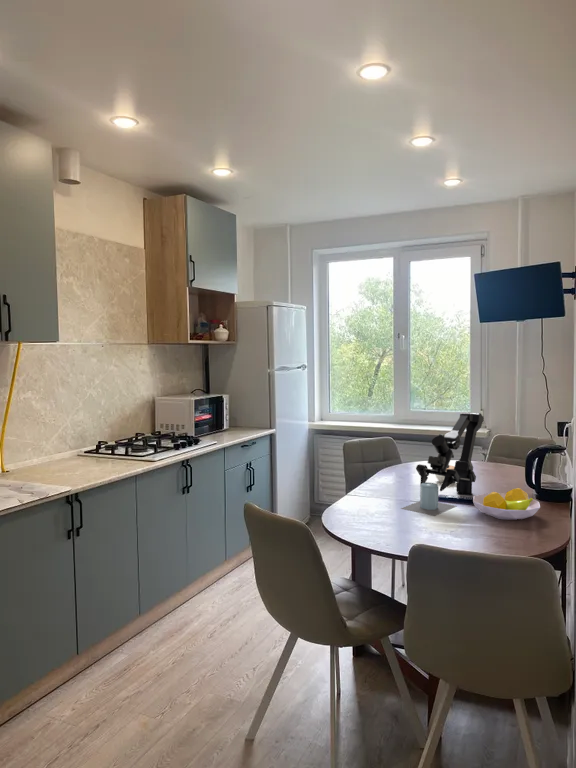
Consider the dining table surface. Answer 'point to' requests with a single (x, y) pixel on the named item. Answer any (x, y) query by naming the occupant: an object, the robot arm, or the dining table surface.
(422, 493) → the dome-topped octagonal prism
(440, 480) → the lidded jar
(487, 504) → the fruit bowl
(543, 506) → the dining table surface
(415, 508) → the placemat
